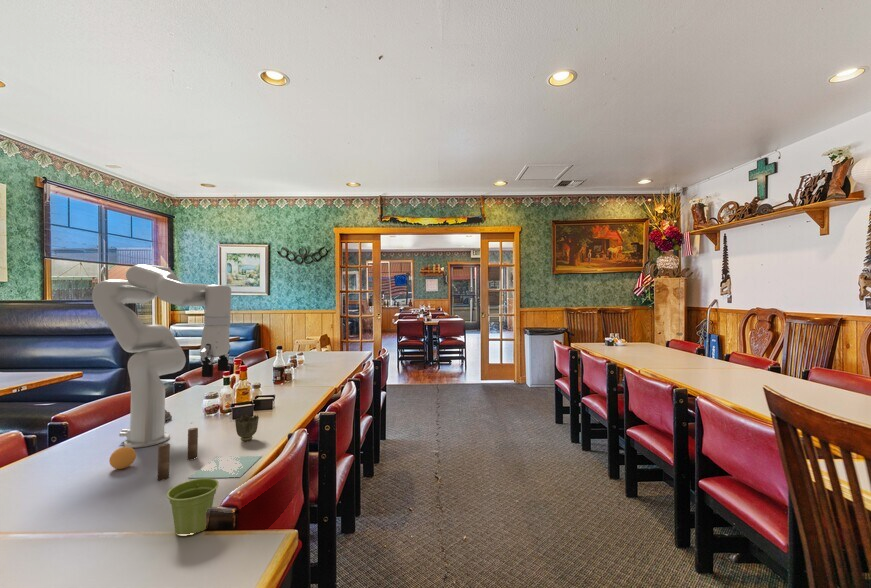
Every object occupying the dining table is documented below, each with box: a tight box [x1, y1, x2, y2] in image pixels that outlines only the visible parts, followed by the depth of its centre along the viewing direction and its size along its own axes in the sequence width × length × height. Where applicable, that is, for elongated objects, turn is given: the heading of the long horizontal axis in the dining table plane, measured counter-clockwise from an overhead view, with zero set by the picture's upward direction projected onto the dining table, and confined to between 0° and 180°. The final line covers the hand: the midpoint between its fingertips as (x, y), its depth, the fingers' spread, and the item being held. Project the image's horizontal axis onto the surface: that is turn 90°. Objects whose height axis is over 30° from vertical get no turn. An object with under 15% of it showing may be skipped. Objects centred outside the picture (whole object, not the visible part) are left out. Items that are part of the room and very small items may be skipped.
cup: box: [234, 414, 260, 443], centre depth 131 cm, size 8×7×8 cm
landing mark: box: [188, 455, 263, 480], centre depth 110 cm, size 14×14×1 cm
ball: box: [109, 446, 137, 470], centre depth 109 cm, size 6×6×6 cm
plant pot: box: [166, 478, 220, 535], centre depth 80 cm, size 9×9×9 cm
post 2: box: [187, 427, 199, 460], centre depth 116 cm, size 3×3×9 cm
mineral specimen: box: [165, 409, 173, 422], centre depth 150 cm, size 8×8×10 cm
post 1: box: [157, 443, 171, 481], centre depth 103 cm, size 3×3×9 cm
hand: (215, 373), depth 123 cm, fingers open, 9 cm apart
